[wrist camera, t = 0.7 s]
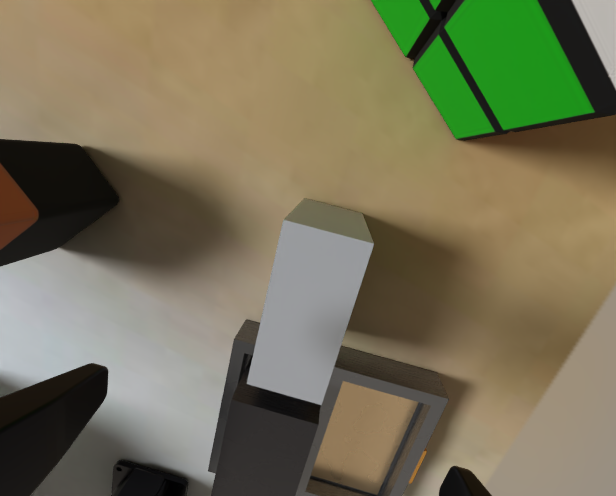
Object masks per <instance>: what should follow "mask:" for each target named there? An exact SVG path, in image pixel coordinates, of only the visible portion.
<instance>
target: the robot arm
mask: <svg viewBox="0 0 616 496" xmlns="http://www.w3.org/2000/svg"><path fill="white" fill-rule="evenodd" d="M107 387H108V369H107V367H105V366H101V365H98V364H94V363H91V364H87V365H84V366H82V367H79V368H76V369H74V370H71V371H69V372H66V373H63V374H61V375H58V376H56V377H53V378H50V379H48V380H45V381H42V382H40V383H37V384H35V385H32V386H29V387H27V388H24V389H22V390H19V391H16V392H14V393H11V394H8V395H6V396H3V397H1V398H0V496H30V495H31V494H32V493H33V491H34V490H35V489H36V488H37V487H38V486H39V485H40V483H41V482H42V481H43V480H44V479H45V478H46V476H47V475H48V474H49V473H50V472H51V471H52V469H53V468H54V467H55V466H56V465H57V463H58V462H59V461H60V459H61V458H62V457H63V456H64V454H65V453H66V452H67V450H68V449H69V448H70V446H71V445H72V443H73V442H74V441H75V439H76V438H77V437H78V435H79V434H80V433H81V431H82V430H83V428H84V427H85V426H86V424H87V423H88V422H89V420H90V419H91V418H92V416H93V415H94V414H95V412H96V411H97V409H98V408H99V407H100V405H101V404H102V403H103V401H104V399H105V397H106V395H107ZM187 489H188V482H187V480H185V479H183V478H180V477H176V476H173V475H170V474H166V473H163V472H160V471H156V470H153V469H149V468H146V467H143V466H139V465H136V464H133V463H129V462H126V461H122V460H119V461H117V463H116V464H115V465H114V468H113V483H112V494H111V496H186V495H187ZM439 496H492V495H491V494H490V493H489V492H488V491H487V489H486V488H485V487H484V486H483V485H482V483H481V482H480V481H479V480H478V479H477V477H476V476H475V475H474V474H473V473H472V472H471V471H470V470H468V469H465V468H461V467H458V466H452V467H451V468H450V470H449V472H448V473H447V475H446V477H445V479H444V481H443V483H442V485H441V487H440V491H439Z"/></svg>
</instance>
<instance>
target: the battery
mask: <svg viewBox="0 0 616 496" xmlns="http://www.w3.org/2000/svg"><path fill="white" fill-rule="evenodd" d="M118 202H119V197H118V196H117V194H116V193H115V192H114V190H113V189H112V187H111V186H110V185H109V183H108V182H107V181H106V179H105V178H104V177H103V175H102V174H101V173H100V171H99V170H98V169H97V167H96V166H95V164H94V163H93V162H92V160H91V159H90V158H89V156H88V155H87V154H86V152H85V151H84V150H83V148H82V147H81V146H80V145H77V144H70V143H54V142H38V141H22V140H6V139H0V266H3V265H7V264H10V263H13V262H16V261H19V260H23V259H26V258H29V257H32V256H36V255H39V254H42V253H45V252H48V251H51V250H54V249H57V248H58V247H60V246H61V245H63V244H64V243H65V242H67V241H68V240H70V239H71V238H72V237H74V236H75V235H76V234H78V233H79V232H80V231H82V230H83V229H84V228H86V227H87V226H89V225H90V224H91V223H93V222H94V221H95V220H97V219H98V218H99V217H101V216H102V215H104V214H105V213H106V212H108V211H109V210H110V209H112V208H113V207H114V206H116V205H117V203H118Z"/></svg>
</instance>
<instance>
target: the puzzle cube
mask: <svg viewBox="0 0 616 496" xmlns="http://www.w3.org/2000/svg"><path fill="white" fill-rule="evenodd" d="M371 1H372V3H373V5H374V6H375V8H376V9H377V11H378V13H379V14H380V16H381V18H382V19H383V21H384V23H385V24H386V26H387V27H388V29H389V31H390V32H391V34H392V36H393V37H394V39H395V41H396V42H397V44H398V46H399V47H400V49H401V50H402V52H403V54H404V55H405V57H407V58H415V59H414V64H413V70H414V71H415V73H416V74H417V76H418V78H419V79H420V81H421V83H422V84H423V86H424V88H425V89H426V91H427V92H428V94H429V96H430V97H431V99H432V101H433V102H434V104H435V106H436V107H437V109H438V111H439V112H440V114H441V115H442V117H443V119H444V120H445V122H446V124H447V125H448V127H449V129H450V130H451V132H452V134H453V135H454V137H455V138H456V139H457V140H464V141H465V140H471V139H477V138H483V137H489V136H495V135H502V134H507V133H509V132H510V131H512V132H519V131H524V130H530V129H536V128H542V127H548V126H553V125H559V124H565V123H571V122H576V121H582V120H588V119H594V118H599V117H605V116H611V115H615V114H616V0H371Z"/></svg>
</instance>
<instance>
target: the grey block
mask: <svg viewBox="0 0 616 496" xmlns="http://www.w3.org/2000/svg"><path fill="white" fill-rule="evenodd" d="M373 246H374V242H373V240H372V237H371V234H370V232H369V229H368V227H367V224H366V222H365V219H364V216H363V214H362V213H359V212H355V211H351V210H348V209H344V208H340V207H336V206H332V205H329V204H325V203H321V202H317V201H313V200H310V199H306V198H304V199H303V200H302V201H301V202H300V203H299V204H298V205H297V206H296V207H295V209H294V210H293V211H292V212H291V213H290V214H289V215H288V216H287V217H286V218H285V219H284V220H283V224H282V228H281V233H280V237H279V242H278V246H277V251H276V255H275V260H274V264H273V268H272V273H271V277H270V282H269V286H268V291H267V295H266V300H265V304H264V309H263V313H262V317H261V322H260V326H259V331H258V335H257V340H256V344H255V349H254V353H253V358H252V362H251V366H250V371H249V375H248V380H247V384H249V385H252V386H256V387H259V388H263V389H266V390H270V391H273V392H277V393H280V394H284V395H287V396H291V397H294V398H298V399H301V400H305V401H308V402H312V403H315V404H319V405H322V402H323V399H324V396H325V393H326V390H327V387H328V384H329V381H330V378H331V375H332V372H333V369H334V365H335V362H336V359H337V356H338V353H339V350H340V347H341V344H342V341H343V338H344V335H345V332H346V329H347V326H348V323H349V319H350V316H351V313H352V310H353V307H354V304H355V301H356V298H357V295H358V292H359V289H360V286H361V283H362V280H363V277H364V273H365V270H366V267H367V264H368V261H369V258H370V255H371V252H372V249H373Z"/></svg>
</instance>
